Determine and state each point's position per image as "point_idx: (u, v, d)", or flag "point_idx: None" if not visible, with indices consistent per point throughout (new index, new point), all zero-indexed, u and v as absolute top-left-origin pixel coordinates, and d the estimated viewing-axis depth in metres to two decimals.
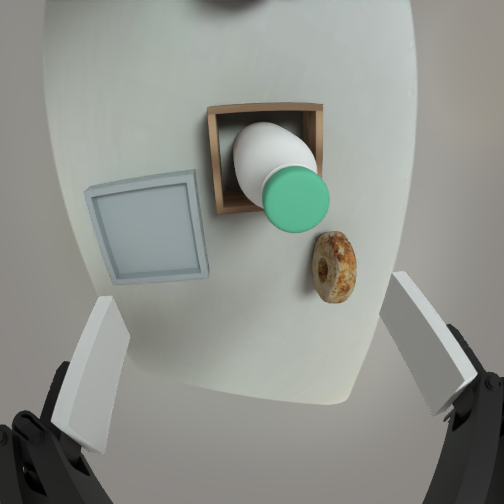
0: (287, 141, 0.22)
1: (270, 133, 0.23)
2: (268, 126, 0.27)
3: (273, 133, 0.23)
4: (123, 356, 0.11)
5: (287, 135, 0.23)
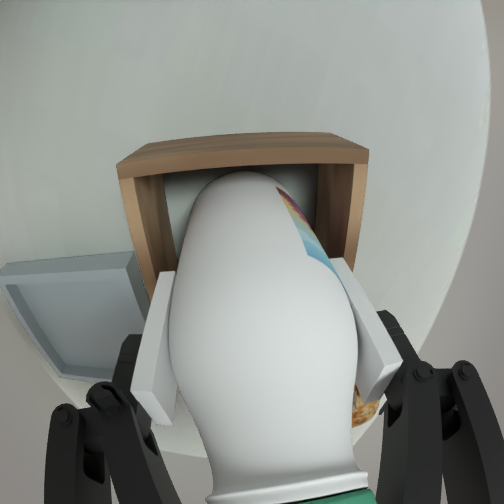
0: (291, 319, 0.08)
1: (244, 269, 0.09)
2: (248, 208, 0.13)
3: (253, 270, 0.09)
4: None
5: (293, 280, 0.08)
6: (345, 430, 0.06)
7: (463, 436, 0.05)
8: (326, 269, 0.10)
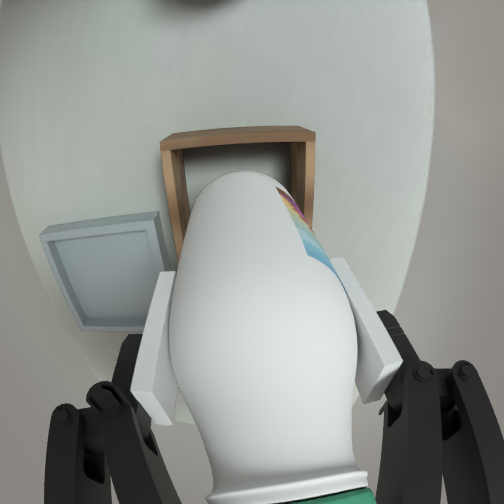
0: (291, 318, 0.08)
1: (244, 269, 0.09)
2: (248, 208, 0.13)
3: (253, 270, 0.09)
4: None
5: (292, 279, 0.09)
6: (345, 429, 0.06)
7: (463, 436, 0.05)
8: (326, 269, 0.10)
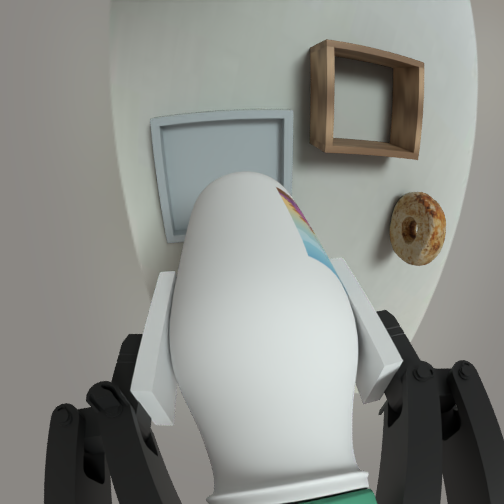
0: (292, 320, 0.08)
1: (245, 270, 0.09)
2: (248, 208, 0.13)
3: (254, 271, 0.09)
4: None
5: (293, 280, 0.08)
6: (346, 430, 0.06)
7: (463, 436, 0.05)
8: (327, 270, 0.10)
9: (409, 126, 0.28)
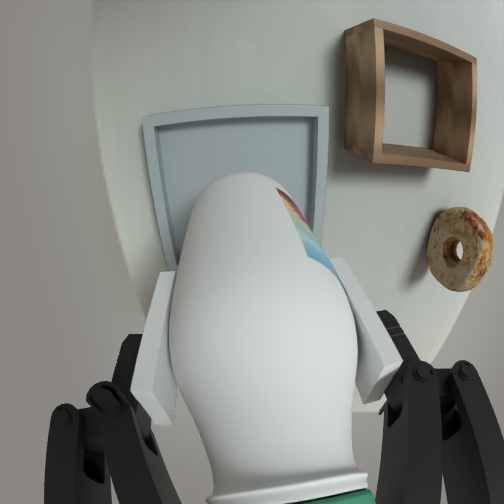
0: (292, 320, 0.08)
1: (245, 271, 0.09)
2: (248, 209, 0.13)
3: (253, 271, 0.09)
4: None
5: (293, 281, 0.08)
6: (345, 431, 0.06)
7: (463, 436, 0.05)
8: (326, 270, 0.10)
9: (460, 132, 0.20)
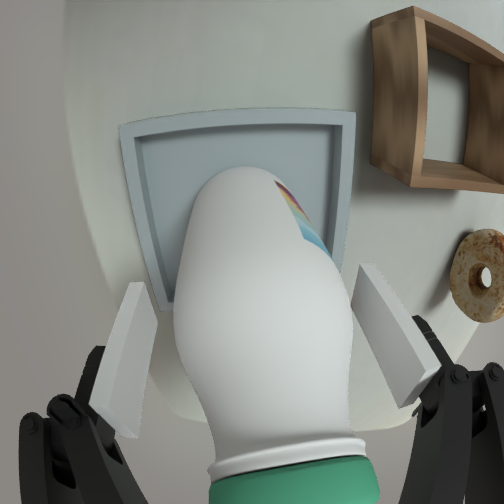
0: (289, 293, 0.08)
1: (245, 249, 0.10)
2: (248, 198, 0.13)
3: (253, 250, 0.09)
4: (152, 341, 0.12)
5: (290, 259, 0.09)
6: (341, 399, 0.07)
7: (488, 434, 0.05)
8: (321, 252, 0.11)
9: (497, 147, 0.16)
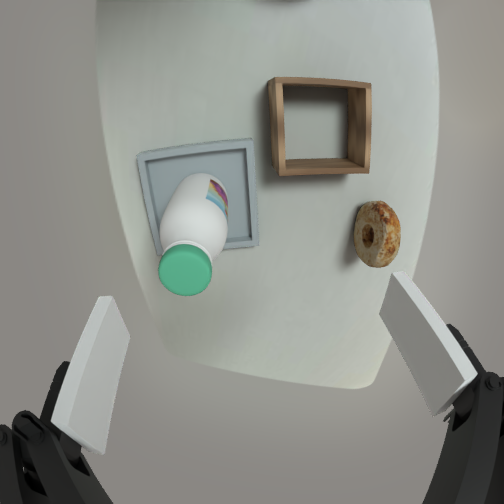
0: (192, 211, 0.27)
1: (182, 201, 0.28)
2: (191, 186, 0.32)
3: (185, 201, 0.28)
4: (123, 356, 0.11)
5: (195, 203, 0.28)
6: (203, 240, 0.25)
7: None
8: (212, 203, 0.29)
9: (360, 143, 0.34)
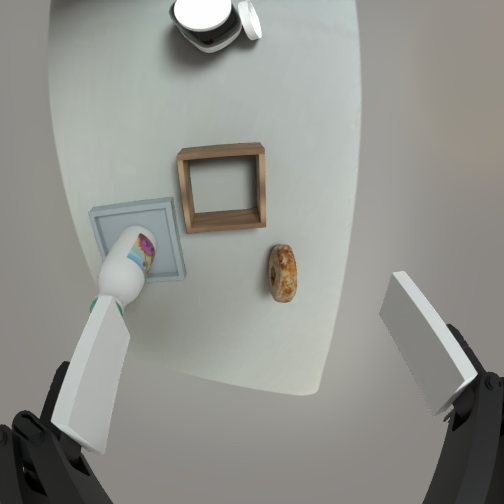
0: (114, 269, 0.36)
1: (110, 260, 0.38)
2: (121, 244, 0.41)
3: (111, 260, 0.38)
4: (123, 356, 0.11)
5: (117, 262, 0.37)
6: (118, 292, 0.35)
7: None
8: (130, 260, 0.39)
9: (259, 201, 0.44)
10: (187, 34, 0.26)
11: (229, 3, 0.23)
